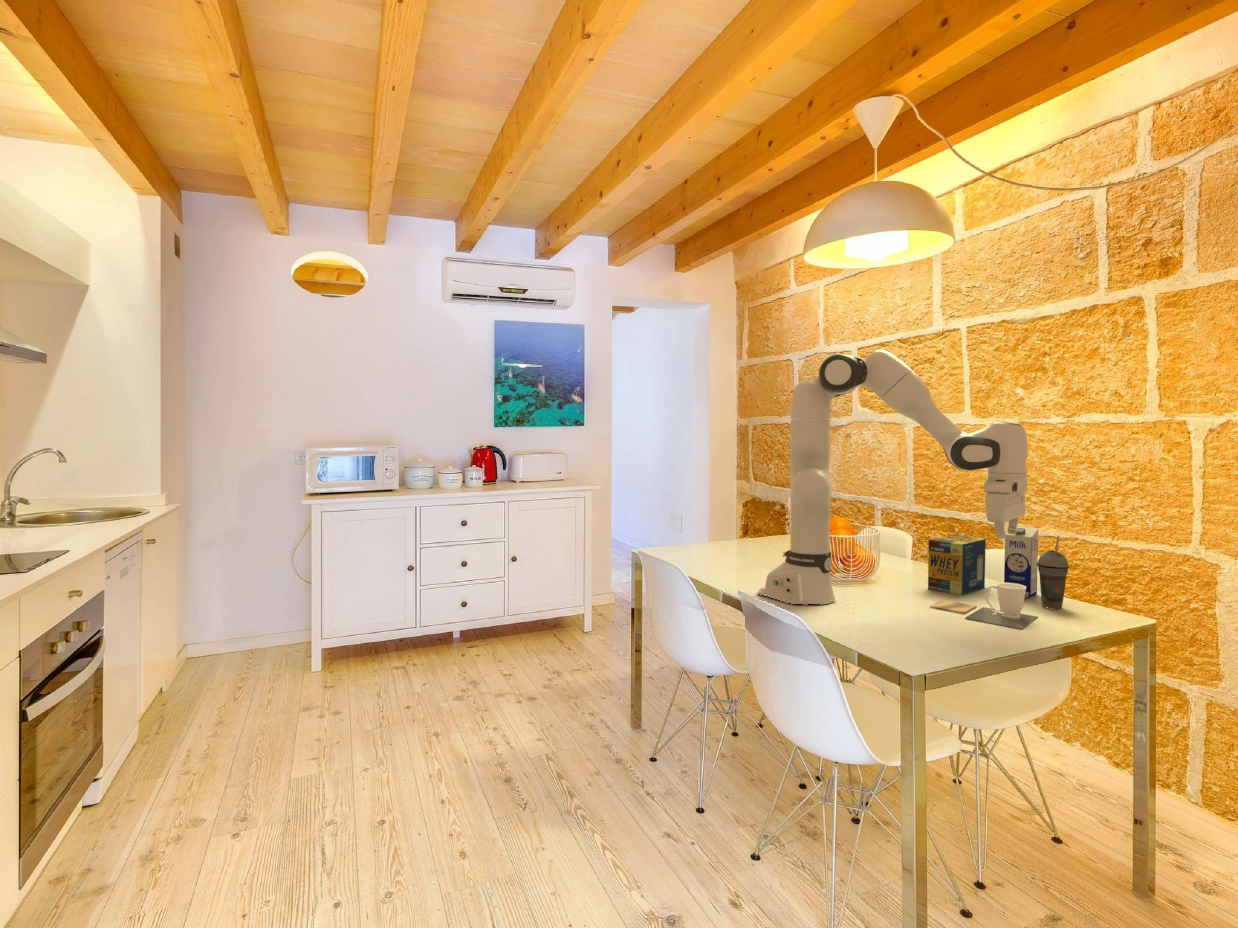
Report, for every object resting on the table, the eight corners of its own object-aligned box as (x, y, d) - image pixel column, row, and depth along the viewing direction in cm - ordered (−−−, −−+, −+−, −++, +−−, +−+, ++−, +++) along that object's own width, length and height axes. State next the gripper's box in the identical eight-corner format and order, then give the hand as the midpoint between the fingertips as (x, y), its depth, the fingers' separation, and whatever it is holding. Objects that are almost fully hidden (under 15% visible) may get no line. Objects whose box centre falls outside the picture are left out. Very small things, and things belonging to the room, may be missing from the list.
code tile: (964, 618, 168) (964, 617, 168) (983, 608, 177) (983, 606, 177) (1021, 629, 158) (1021, 628, 158) (1037, 617, 168) (1037, 616, 168)
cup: (1017, 621, 164) (1018, 590, 163) (978, 612, 172) (979, 582, 172) (1032, 617, 167) (1032, 586, 167) (993, 608, 176) (993, 578, 175)
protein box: (927, 589, 199) (927, 539, 198) (951, 581, 208) (952, 534, 207) (961, 596, 190) (962, 544, 189) (985, 587, 199) (986, 538, 199)
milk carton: (1037, 594, 190) (1039, 527, 189) (1030, 598, 186) (1031, 530, 185) (1010, 590, 196) (1011, 525, 195) (1003, 594, 191) (1004, 527, 190)
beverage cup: (1042, 601, 182) (1044, 532, 181) (1072, 607, 177) (1074, 535, 176) (1031, 606, 178) (1033, 534, 177) (1061, 612, 172) (1063, 538, 171)
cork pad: (929, 607, 178) (929, 605, 178) (942, 601, 184) (942, 599, 184) (964, 614, 172) (964, 612, 172) (976, 607, 178) (976, 605, 178)
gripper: (1006, 480, 177) (1005, 530, 178) (981, 485, 163) (980, 539, 164) (1032, 481, 173) (1031, 532, 173) (1009, 486, 159) (1008, 542, 159)
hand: (1006, 536), depth 169 cm, fingers open, 8 cm apart
